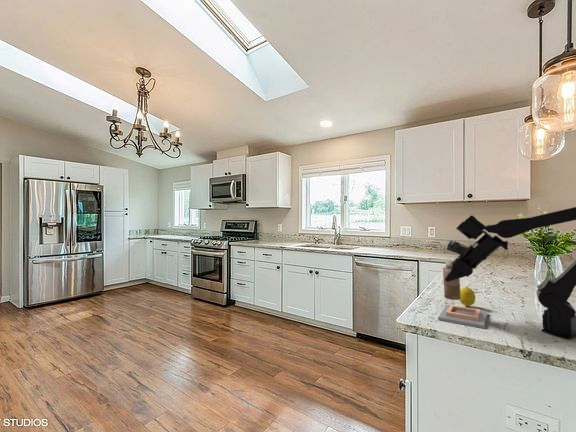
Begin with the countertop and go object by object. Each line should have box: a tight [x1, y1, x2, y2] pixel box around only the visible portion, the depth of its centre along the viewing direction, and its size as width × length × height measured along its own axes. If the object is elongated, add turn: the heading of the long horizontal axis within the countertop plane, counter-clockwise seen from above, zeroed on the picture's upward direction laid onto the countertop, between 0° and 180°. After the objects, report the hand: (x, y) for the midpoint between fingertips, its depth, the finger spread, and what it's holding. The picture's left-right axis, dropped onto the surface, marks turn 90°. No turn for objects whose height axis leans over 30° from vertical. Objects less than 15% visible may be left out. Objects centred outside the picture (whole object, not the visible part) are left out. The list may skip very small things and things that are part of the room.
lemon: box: [458, 286, 476, 308], centre depth 108 cm, size 6×6×8 cm
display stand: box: [437, 304, 488, 329], centre depth 97 cm, size 13×16×2 cm
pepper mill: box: [442, 260, 461, 301], centre depth 100 cm, size 5×5×13 cm
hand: (447, 279), depth 100 cm, fingers closed on pepper mill, 5 cm apart
